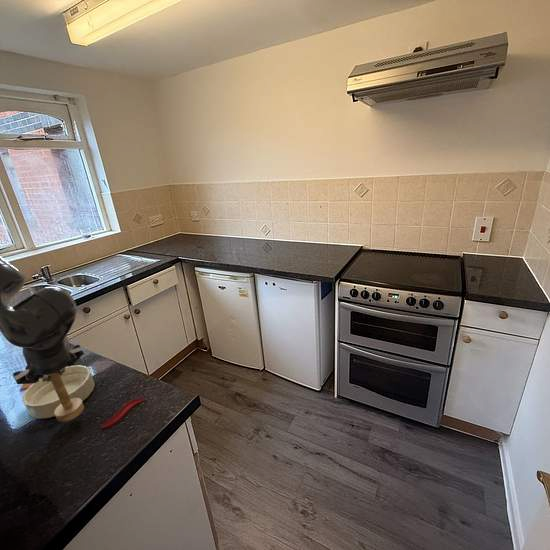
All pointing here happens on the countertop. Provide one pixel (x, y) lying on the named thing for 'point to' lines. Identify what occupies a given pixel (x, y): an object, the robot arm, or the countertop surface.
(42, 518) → the countertop surface
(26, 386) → the spoon rest
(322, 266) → the countertop surface
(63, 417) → the wooden pestle
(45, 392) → the bowl
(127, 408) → the cayenne pepper
